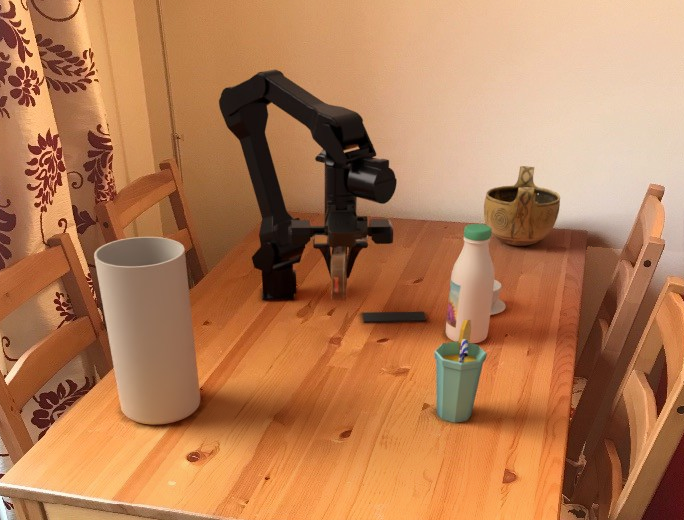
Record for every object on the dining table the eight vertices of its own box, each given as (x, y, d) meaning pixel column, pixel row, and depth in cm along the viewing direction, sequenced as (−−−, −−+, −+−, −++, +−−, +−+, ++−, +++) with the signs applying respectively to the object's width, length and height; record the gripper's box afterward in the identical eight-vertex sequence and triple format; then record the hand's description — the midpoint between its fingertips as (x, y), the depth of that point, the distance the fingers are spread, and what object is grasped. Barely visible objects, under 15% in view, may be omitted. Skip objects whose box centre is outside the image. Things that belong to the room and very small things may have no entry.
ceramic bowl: (553, 260, 178) (565, 191, 169) (477, 255, 181) (484, 187, 172) (552, 229, 195) (563, 165, 187) (482, 224, 198) (490, 161, 190)
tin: (344, 308, 144) (347, 263, 139) (327, 307, 144) (329, 262, 139) (347, 277, 156) (350, 234, 151) (331, 275, 156) (334, 233, 151)
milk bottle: (492, 331, 148) (506, 223, 136) (480, 348, 143) (494, 236, 131) (452, 324, 151) (462, 217, 139) (439, 340, 145) (449, 230, 134)
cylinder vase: (114, 396, 129) (86, 243, 114) (188, 381, 133) (171, 232, 118) (131, 433, 120) (103, 272, 105) (210, 416, 124) (194, 259, 109)
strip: (363, 322, 152) (363, 320, 151) (362, 314, 155) (362, 312, 155) (426, 321, 152) (426, 319, 152) (423, 313, 155) (423, 311, 155)
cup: (481, 442, 117) (494, 349, 109) (429, 439, 118) (437, 347, 109) (477, 396, 129) (488, 308, 120) (429, 393, 129) (436, 306, 120)
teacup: (474, 293, 163) (477, 271, 160) (515, 307, 157) (518, 284, 155) (444, 307, 157) (446, 284, 155) (485, 321, 152) (488, 298, 149)
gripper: (287, 206, 132) (289, 295, 142) (398, 204, 133) (393, 293, 142) (287, 187, 141) (289, 272, 151) (392, 186, 142) (387, 271, 151)
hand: (339, 277), depth 148 cm, fingers closed on tin, 3 cm apart
